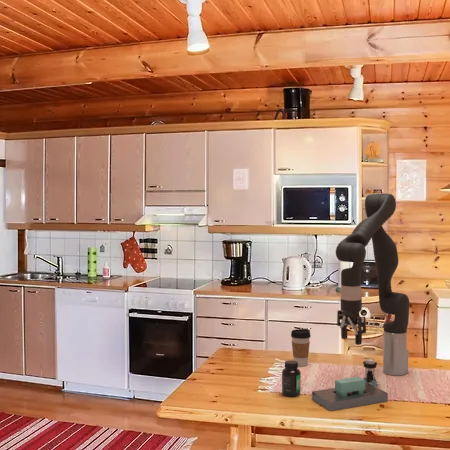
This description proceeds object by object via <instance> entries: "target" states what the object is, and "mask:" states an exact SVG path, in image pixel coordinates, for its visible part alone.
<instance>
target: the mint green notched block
mask: <svg viewBox="0 0 450 450" xmlns="http://www.w3.org/2000/svg"><path fill="white" fill-rule="evenodd" d="M334 388H335V390H336V394H337V395H339V396H341V397H345V396H347V392H355V393H357V394H364V390H365V380H364V379H363V377H360V376H354V377H347V378H340V379H335V380H334Z"/></svg>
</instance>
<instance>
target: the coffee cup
mask: <svg viewBox="0 0 450 450" xmlns="http://www.w3.org/2000/svg"><path fill="white" fill-rule="evenodd" d="M290 337H291V348H292V349H291V350H292V358H293V360H292V361H297V362H298V367H306V366H308V365H309V363H308V362H309V361H308V360H309V352H310V343H311V341H310V338H311V330H310V329H308V328H298V329H296V328H295V329H293V330H291V333H290Z"/></svg>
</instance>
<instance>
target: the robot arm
mask: <svg viewBox="0 0 450 450" xmlns="http://www.w3.org/2000/svg"><path fill="white" fill-rule="evenodd" d="M364 209H365V210H364V211H365V215H366V218H364V219H363V220H362V221H360V222H359V223H358V224H356V226H355V228H354V229H353V230H352V232H351V233H350V234H349V235H348V236H346V237H345V238H344V239H342V240H341V241H340V242H339V243H338V244H337V246H336V248H335V256H336V258H337V260H338V261H340V262H343V263H344V262H345V263H346V262H347V263H352V266H351V267H348V268H346V267H345V268H343V269H342V270H341V271H340V285H341V286H340V298H339V299H340V303H339V304H340V309H338V310H337V313H336V315H337V317H336V326H337V327H339V328H340V335H341V340H347V339H348V328H349V326H350V327H351V329H353V330H354V332H355V333H354V334H355V336H354V337H355V340H354V342H355V345H362V343H363V334H367V323H366V322H367V320H366V316H365V315H363V316H361V315H360V312H361V311H362V308H363V307H362V305H363V303H362V302H363V301H362V299H363V298H362V296H363V294H362V271H363V266H364V263H365V259H366V256H367V251H366V247H367V246H368V244H369V243H370V242H371V243H372V248H373V258H374V262H375V263H374V264H375V269H376V276H377V285H378V286H377V287H378V301H379V302H378V303H379V308H380V310H381V312H383V313H384V314H386V315H387V314H388V315H391V316H392V315H393V316H394V319H393V320H392V321H388V322H385V323H384V324H383V341H382V342H383V345H382V347H383V348H382V350H383V351H382V352H383V353H382V372H383V374H386V375H388V376H389V375H390V376H404V375H406V374H408V373H409V352H410V351H409V349H407V347H408V345H407V343H408V342H407V339H408V338H407V335H408V334H407V333H408V326H409V316H410V298H409V297H408V296H409V295H407V294H406V293H402V292H396V291H393V290H392V278H393V275H394V274H395V272H396V271H397V268H398V266H399V262H400V261H399V252H398V249H397V248H398V247H397V244H396V243H395V242H394V240H393V239H392V237H391V236H390V235H389V234H388V233H387V231H386V230H385V228H384V227H383V225H384V224H385V223H386V222H387V221H388V220H389V219H391V217H392V216H393V215H394V214H395V211H396V209H397V200H396V198H395V196H394V195H393V194H391V193H371V194H370V193H368V195H366V197H365V199H364Z"/></svg>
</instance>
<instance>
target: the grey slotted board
mask: <svg viewBox="0 0 450 450" xmlns="http://www.w3.org/2000/svg"><path fill="white" fill-rule="evenodd" d="M311 400H312V401H314V403H317V404H319V405H320V406H322V407H323V408H324V409H326V410H328V411H329V412H333V411H338V410H345V409H351V408H355V407H357V408H358V407H362V406H369V405H375V404H380V403H381V404H382V403H386V402H388V400H389V392H387V391H384V390H382V389H381V388H379V387H377V386H376V387H375V386H373V385H370V384H368V383H365V390H364V394H357V393H355V392H347V396H345V397H341V396H339V395H337V394H336V390H335V387H331V388H327V389H326V388H325V389H318V390H313V391H311Z"/></svg>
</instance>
